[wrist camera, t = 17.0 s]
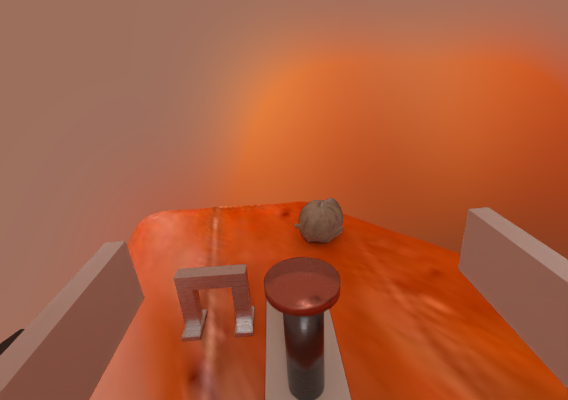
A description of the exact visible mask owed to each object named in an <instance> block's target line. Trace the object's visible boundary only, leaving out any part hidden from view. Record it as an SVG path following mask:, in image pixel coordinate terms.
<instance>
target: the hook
mask: <svg viewBox="0 0 568 400" xmlns="http://www.w3.org/2000/svg"><path fill="white" fill-rule="evenodd" d="M264 287H265V296H266V299H267V301H268V302H269V304H270V305H271V306H272V307H273V308H275V309H276V310H278V311H279V312H281V313H283V322H284V336H285V349H286V362H287V375H288V387H289V390H290V392H291V394H292V395H293V396H294V397H295V398H296V399H298V400H315V399H317V398H318V397H320V396H321V394H322V393H323V391H324V386H325V376H324V312H325V311H327V310H328V309H330V308H331V307H332V306H334V304H335V303H336V302H337V300H338V298H339V296H340V276H339V274H338V272H337V270H336V269H335V268H334V267H333V266H331V265H330V264H328V263H327V262H325V261H322V260H319V259H315V258H309V257H297V258H291V259H287V260H284V261H281V262H279V263H277V264H275V265H274V266H273V267H271V268H270V269H269V271H268V272H267V273H266V275H265V278H264Z"/></svg>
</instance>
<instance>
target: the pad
mask: <svg viewBox="0 0 568 400" xmlns="http://www.w3.org/2000/svg"><path fill="white" fill-rule="evenodd" d="M324 376H325V386H324V391H323V393H322V394H321V396H320V397H318V398H317V399H315V400H351V396H350V392H349V388H348V384H347V380H346V376H345V372H344V368H343V364H342V360H341V355H340V351H339V347H338V343H337V339H336V335H335V331H334V327H333V323H332V319H331V315H330V310H329V309H328V310H327V311H325V312H324ZM265 400H298V399H296V398H295V397H294V396H293V395H292V394H291V392H290V390H289V387H288V375H287V362H286V349H285V336H284V322H283V313H281V312H279V311H278V310H276V309H275V308H273V307H272V306H271V305H270V304H269V302H268V301H267V318H266V384H265Z"/></svg>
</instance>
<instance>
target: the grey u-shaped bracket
mask: <svg viewBox="0 0 568 400" xmlns="http://www.w3.org/2000/svg"><path fill="white" fill-rule="evenodd" d="M174 282H175V286H176V290H177V294H178V298H179V302H180V306H181V311H182V315H183V319H184V323H185V329H184V332H183V335H182V341H189V340H201V336H202V332H203V328H204V324H205V320H206V316H207V309H203V310H202V307H201V303H200V298H199V293H198V290H201V289H214V288H228V287H231V289H232V295H233V301H234V308H235V314H236V326H235V337H242V336H253V329H254V313H255V307H254V306H252V305H251V297H250V290H249V282H248V274H247V266H246V264H241V265H227V266H213V267H200V268H186V269H178V270H177V273H176V275H175V277H174Z"/></svg>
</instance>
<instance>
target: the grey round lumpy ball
mask: <svg viewBox="0 0 568 400" xmlns="http://www.w3.org/2000/svg"><path fill="white" fill-rule="evenodd" d="M342 223H343V214H342V210H341V207H340V206H339V204H338V202H337V201H336V200H335V199H331V198H329V199H326V200H321V201H320V200H318V201H317V200H316V201H315V200H314V201H311V202H309V203H308V204H306V205H305V207H304V208H303V209H302V211H301V212H300V215H299V224H296V223H295V224H294V226H295V228H297V229H298V228H299V229H300V232H301V235H302V236H303V237H304V238H305V239H306V240H307V242H313V241H318V242H320V243H329V242H330V241H331V240H332V239H333V238H335V237H336V236H338V235H339V234H341V232H342V231H343V227H342Z"/></svg>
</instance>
